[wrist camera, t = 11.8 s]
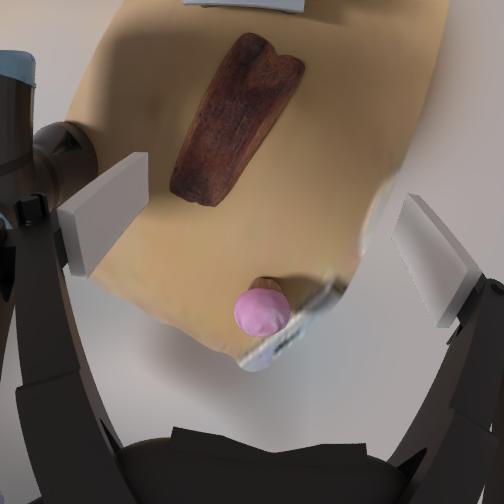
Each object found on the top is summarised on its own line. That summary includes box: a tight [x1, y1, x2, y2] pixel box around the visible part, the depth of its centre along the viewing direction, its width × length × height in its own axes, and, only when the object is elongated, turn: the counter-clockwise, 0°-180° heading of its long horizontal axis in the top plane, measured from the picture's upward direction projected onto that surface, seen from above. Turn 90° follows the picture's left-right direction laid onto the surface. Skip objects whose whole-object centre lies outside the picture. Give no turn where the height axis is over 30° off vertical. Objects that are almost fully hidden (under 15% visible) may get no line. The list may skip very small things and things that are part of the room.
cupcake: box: [234, 278, 290, 337], centre depth 50 cm, size 9×9×10 cm
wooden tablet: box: [170, 33, 305, 207], centre depth 40 cm, size 26×2×10 cm
